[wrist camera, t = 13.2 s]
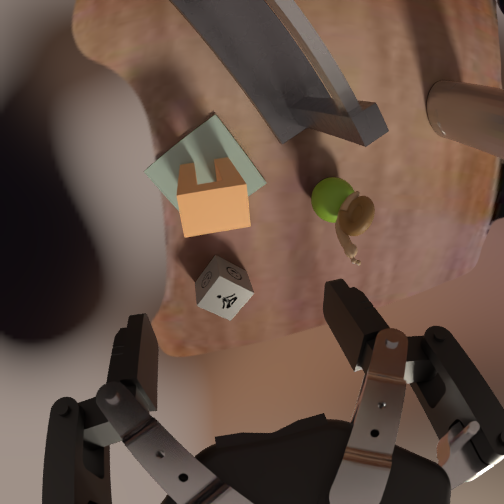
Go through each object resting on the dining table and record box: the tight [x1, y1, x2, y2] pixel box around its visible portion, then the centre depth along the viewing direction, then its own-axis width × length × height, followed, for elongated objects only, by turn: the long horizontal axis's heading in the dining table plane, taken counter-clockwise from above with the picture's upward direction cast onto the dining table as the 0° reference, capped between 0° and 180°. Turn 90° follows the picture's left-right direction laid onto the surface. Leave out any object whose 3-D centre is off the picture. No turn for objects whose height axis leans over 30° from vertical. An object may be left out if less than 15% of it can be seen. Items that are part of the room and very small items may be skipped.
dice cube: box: [195, 255, 254, 321], centre depth 38 cm, size 5×5×5 cm
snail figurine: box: [311, 177, 375, 265], centre depth 32 cm, size 5×6×12 cm
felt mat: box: [144, 115, 266, 211], centre depth 33 cm, size 10×10×1 cm
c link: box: [176, 157, 251, 238], centre depth 28 cm, size 5×4×11 cm, turn 95°
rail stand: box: [169, 0, 389, 147], centre depth 19 cm, size 8×26×15 cm, turn 35°
